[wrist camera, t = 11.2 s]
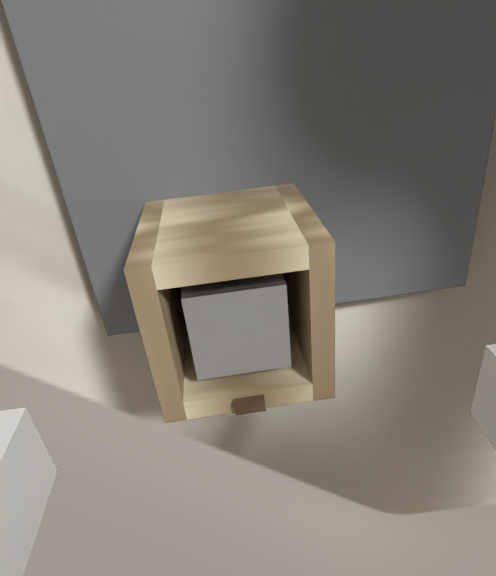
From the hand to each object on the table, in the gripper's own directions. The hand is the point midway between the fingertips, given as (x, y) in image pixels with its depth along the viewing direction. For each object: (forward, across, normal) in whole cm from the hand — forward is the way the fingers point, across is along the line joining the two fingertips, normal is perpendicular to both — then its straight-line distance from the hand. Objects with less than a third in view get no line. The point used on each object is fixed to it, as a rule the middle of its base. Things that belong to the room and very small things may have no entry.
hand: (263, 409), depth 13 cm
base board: (+12, -2, -6) cm, 14 cm away
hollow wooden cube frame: (+11, 0, 0) cm, 11 cm away
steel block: (+12, 0, 0) cm, 12 cm away
